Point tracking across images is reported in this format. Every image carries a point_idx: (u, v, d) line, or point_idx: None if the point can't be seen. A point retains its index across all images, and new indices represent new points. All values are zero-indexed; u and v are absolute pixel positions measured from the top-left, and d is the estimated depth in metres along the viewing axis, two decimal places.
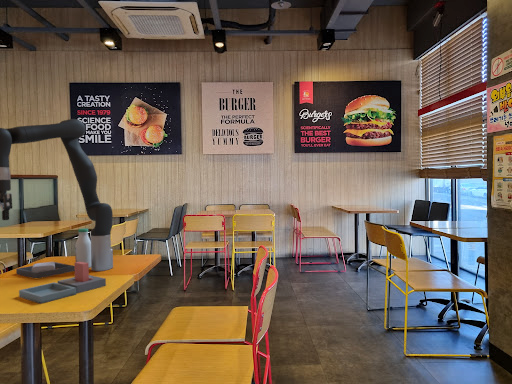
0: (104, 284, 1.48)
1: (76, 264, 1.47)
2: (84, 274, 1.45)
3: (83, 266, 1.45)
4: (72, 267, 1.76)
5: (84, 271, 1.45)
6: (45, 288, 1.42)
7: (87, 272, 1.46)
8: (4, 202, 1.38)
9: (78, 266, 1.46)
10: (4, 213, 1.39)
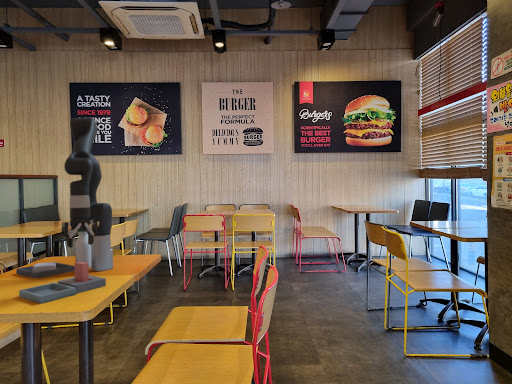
0: (104, 284, 1.48)
1: (76, 264, 1.47)
2: (84, 274, 1.45)
3: (83, 266, 1.45)
4: (72, 267, 1.76)
5: (84, 271, 1.45)
6: (45, 288, 1.42)
7: (87, 272, 1.46)
8: (96, 227, 1.52)
9: (78, 266, 1.46)
10: (92, 238, 1.51)
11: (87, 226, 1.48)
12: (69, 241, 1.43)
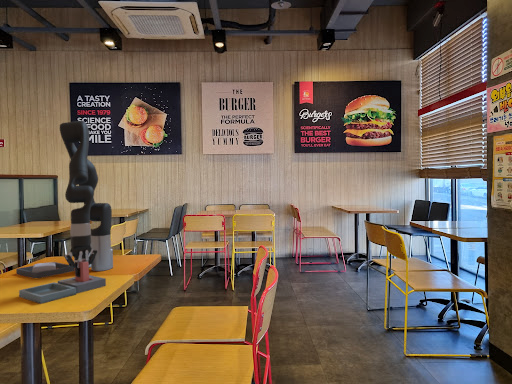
0: (104, 284, 1.48)
1: None
2: (84, 273, 1.45)
3: (83, 265, 1.45)
4: (72, 267, 1.76)
5: (84, 270, 1.45)
6: (45, 288, 1.42)
7: (87, 271, 1.46)
8: (93, 258, 1.50)
9: None
10: None
11: (86, 254, 1.47)
12: (77, 271, 1.45)
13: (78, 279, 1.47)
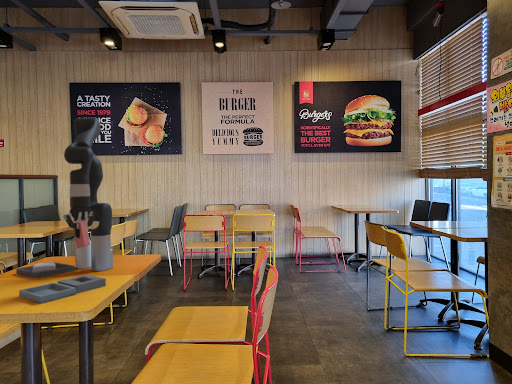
0: (104, 284, 1.48)
1: None
2: (83, 231, 1.45)
3: (80, 223, 1.45)
4: (72, 267, 1.76)
5: (82, 228, 1.45)
6: (45, 288, 1.42)
7: (86, 229, 1.46)
8: (92, 220, 1.50)
9: None
10: None
11: (86, 216, 1.47)
12: (77, 232, 1.45)
13: (78, 240, 1.46)
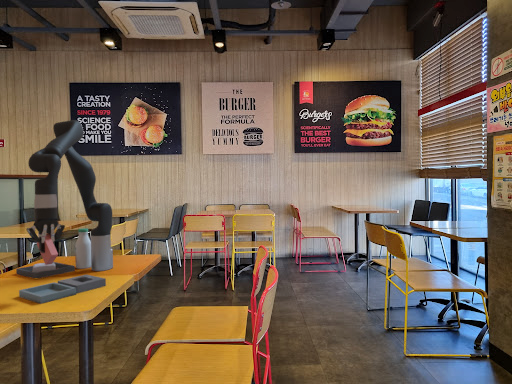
0: (104, 284, 1.48)
1: (38, 242, 1.37)
2: (47, 242, 1.34)
3: None
4: (72, 267, 1.76)
5: (46, 240, 1.35)
6: (45, 288, 1.42)
7: (50, 241, 1.36)
8: (60, 233, 1.39)
9: None
10: None
11: (52, 229, 1.36)
12: (41, 246, 1.34)
13: (45, 254, 1.34)
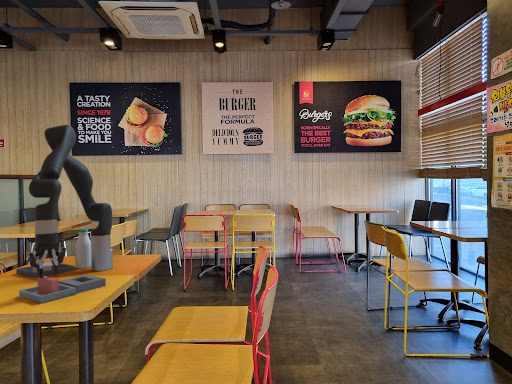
0: (104, 284, 1.48)
1: (38, 289, 1.37)
2: (45, 278, 1.36)
3: None
4: (72, 267, 1.76)
5: (43, 278, 1.37)
6: None
7: (47, 277, 1.37)
8: (62, 256, 1.40)
9: (39, 286, 1.37)
10: (57, 268, 1.38)
11: (53, 253, 1.36)
12: (39, 271, 1.33)
13: (47, 289, 1.34)
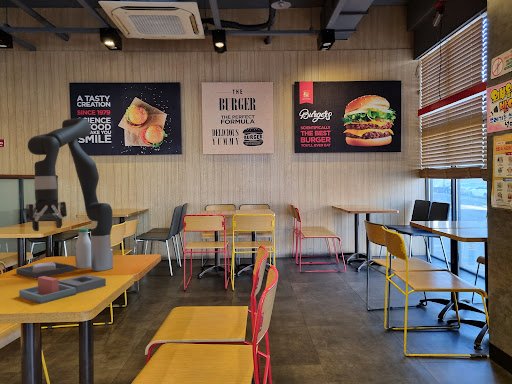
0: (104, 284, 1.48)
1: (38, 289, 1.37)
2: (45, 278, 1.36)
3: (39, 277, 1.37)
4: (72, 267, 1.76)
5: (43, 278, 1.37)
6: None
7: (48, 277, 1.37)
8: (65, 210, 1.45)
9: (39, 286, 1.37)
10: (61, 221, 1.44)
11: (54, 208, 1.41)
12: (35, 224, 1.35)
13: (47, 289, 1.34)
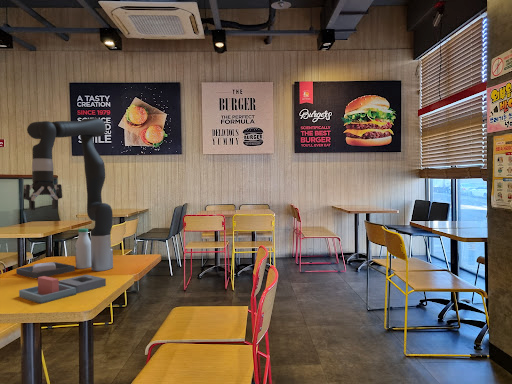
0: (104, 284, 1.48)
1: (38, 289, 1.37)
2: (45, 278, 1.36)
3: (39, 277, 1.37)
4: (72, 267, 1.76)
5: (43, 278, 1.37)
6: None
7: (48, 277, 1.37)
8: (60, 192, 1.52)
9: (39, 286, 1.37)
10: (56, 202, 1.51)
11: (50, 190, 1.48)
12: (31, 204, 1.43)
13: (47, 289, 1.34)
